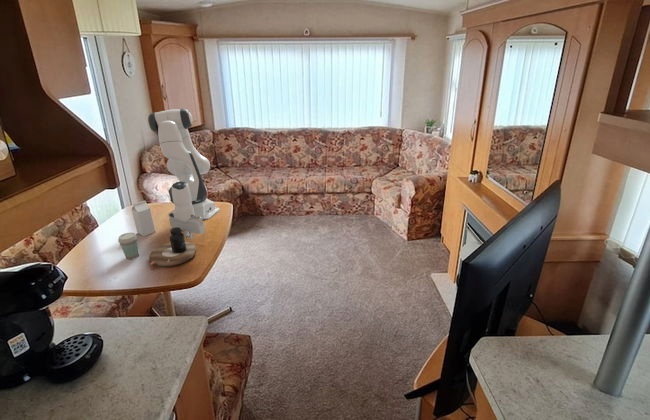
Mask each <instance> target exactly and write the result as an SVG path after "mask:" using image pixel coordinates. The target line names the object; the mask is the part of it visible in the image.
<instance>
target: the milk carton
mask: <svg viewBox="0 0 650 420" xmlns="http://www.w3.org/2000/svg"><path fill="white" fill-rule="evenodd" d="M131 212H132V216H133V220H134V226H135V229H136V232H137V234H139V235H141V236H143V237H145V236H147V235H150V234H153V233H155V232H156V229H155V224H154V221H153V214H152V212H151V207H150V205H148V203H147V201H146V199H145V200H142V201H139V202H136V203H135V202H134V203H133V204H132V208H131Z"/></svg>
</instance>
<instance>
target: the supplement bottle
mask: <svg viewBox="0 0 650 420" xmlns="http://www.w3.org/2000/svg"><path fill="white" fill-rule="evenodd" d="M169 232H170V235H169V243H171V248H172V252H173V253H176V254H178V253H182V252H184V251H185V250H186V244H185V242H186V239H185V234H184V232H182V230H181V229H180V228H179V227H176V228H172V227H171V229H169Z"/></svg>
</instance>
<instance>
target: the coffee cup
mask: <svg viewBox="0 0 650 420" xmlns="http://www.w3.org/2000/svg"><path fill="white" fill-rule="evenodd" d="M117 241H118V243H119V244H120V247H121V249H122V252H123V254H124V257H125V259H126V260H135V259H137V258H138V257H139V256H140V255H139V246H138V236H137V235H136V233H134V232H125V233H122V234H121V235H119V236H118V239H117Z"/></svg>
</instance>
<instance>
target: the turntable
mask: <svg viewBox="0 0 650 420" xmlns="http://www.w3.org/2000/svg"><path fill="white" fill-rule="evenodd" d="M185 244H186V250H185V251H184V252H182V253H178V254H176V253H173V252H172V248H171V243H170V242H168V243H164V244H162V245H159V246H157V247H155V248H154V249H153V250H152V251H151V252H150V253H149V255H148V259H149V262H150V263H152V262H155V263H156V267H157V266H158V267H173V266H172V265H175V266H177V265H176V264H178V265H181V264H184V263H185V261H186V262H188V261H189V260H191V259H192V258H193V257H195V255H196V253H197V249H196V246H195V244H194V243H192V242H189V241H185ZM183 262H184V263H183ZM180 263H181V264H180Z"/></svg>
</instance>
